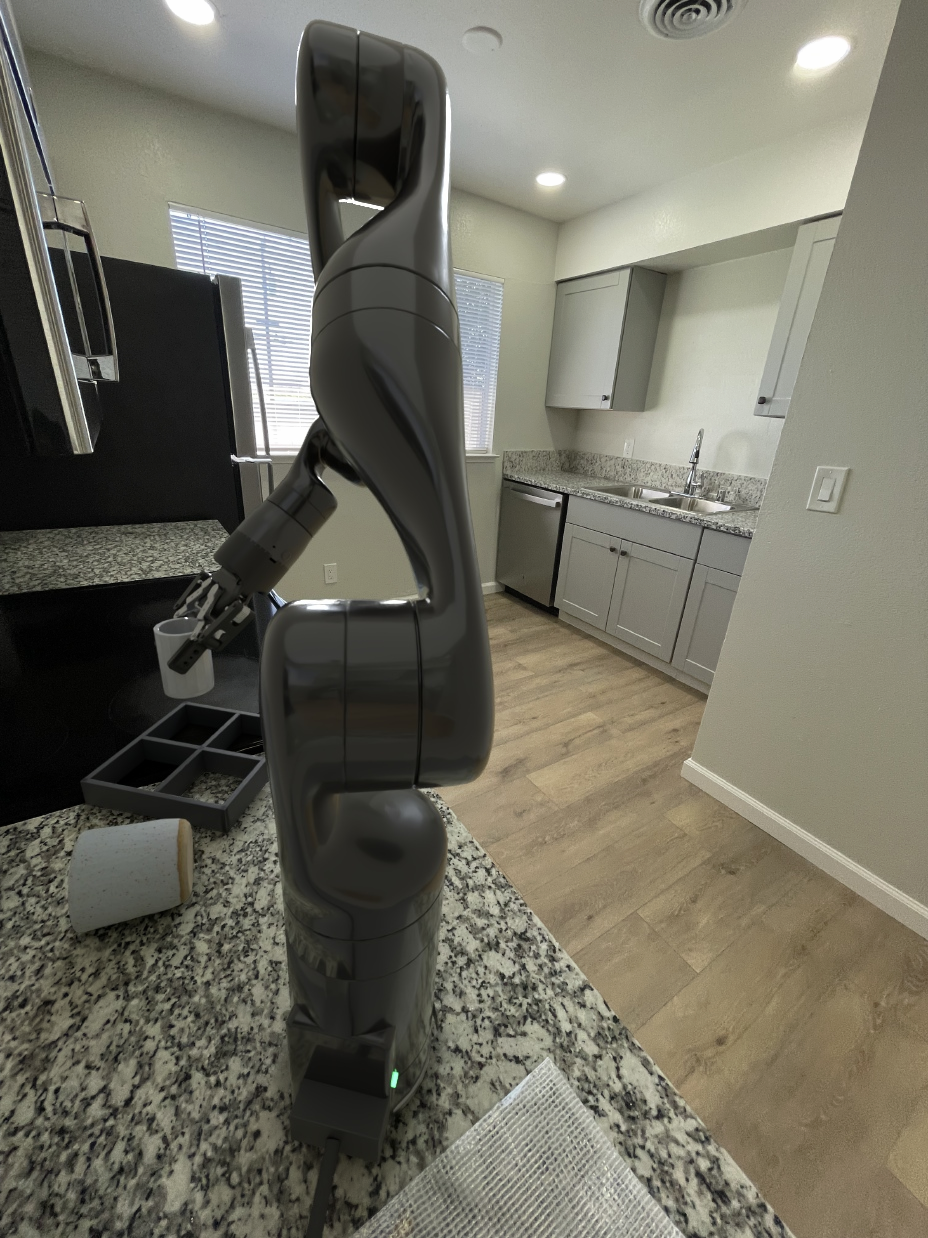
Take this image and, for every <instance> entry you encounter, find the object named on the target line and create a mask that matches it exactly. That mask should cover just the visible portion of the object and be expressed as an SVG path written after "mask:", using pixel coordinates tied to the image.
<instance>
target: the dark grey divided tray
mask: <svg viewBox="0 0 928 1238" xmlns="http://www.w3.org/2000/svg"><path fill="white" fill-rule="evenodd" d="M188 724H190V725H197V726H201V727H208V728H213V729H217V731H215V732H214V734H212V735H211V736H210V737H209V738H208V739H207V740H206V741H205V742H204V743H203V744H201V745H197V744H191V743H186V742H181V741H177V740H176V741H175V740H170V739H171V738H173V737H174V736H175V735H176V734H177V733H179V732H180V731H181V730H182V729H183V728H185V727H186V726H187V725H188ZM242 734H246V735H247V734H248V735H253V736H259V737H262V732H261V724H260V715H259V713H254V712H247V711H242V710H236V709H231V708H224V707H218V706H212V705H208V704H201V703H196V702H190V701H185V700H184V701H183V702H182V703H180V704H179V705H178V706H177V707H175V708H174V709H172V710H171V711H170V712H169V713H167V714H166V715H164V716H163V717H162V718H161V719H159V720H158V721H156V723H154V724H152V726H150V727H149V728H147V729H146V730H145V731H144V732H142V733H141V734H140V735H139V736H138V737H136V738H135V739H134V740H132V741H131V742H130V743H128V744H127V745H125V747H123V748H122V749H120V750H119V751H118V752H116V753H115V754H114V755H113V756H111V757H109V758H108V759H107V760H106V761H105V762H103V763H102V764H101V765H99V766H98V767H96V769H94V770H93V771H92V772H91V773H89V774H88V775H87V776H85V777H83V778H82V779H81V780H80V781H79V783H80V787H81V790H82V794H83V799H84V802H85V804H86V805H90V806H96V807H99V808H106V809H110V810H114V811H120V812H124V813H131V814H134V815H138V816H139V815H140V816H144V817H150V818H154V819H157V820H160V819H185V820H187V821H188V822H189V823H190V825H191V826H192V827H193V826H194V827H199V828H203V829H208V830H212V831H218V832H223V833H228V832H229V831H230V830H231V829H232V828H233V826H234V825H235V824H236V823H237V821H238V820H239V818H240V817H241V816H242V815H243V813H245V811H246V810H247V809H248V807H249V806H250V805H251V803H252V802H253V801H254V800H255V798H256V797H257V795H258V794H259V793H260V792H261V791H262V789H263V788H264V787H265V786H266V784H267V783H269V779H268V773H267V767H266V761H265V755H263V757H262V756H257V755H251V754H246V753H241V752H235V751H230V750H227V749H228V748H229V747H230V746H231V745H232V744H233V743H234V742H235V741H236V740H237V739H238V738H239V737H240V736H241V735H242ZM145 760H146V761H152V762H157V763H162V764H163V763H164V764H168V765H173V766H178V767H177V768H176V769H174V771H172V772H171V773H170V774H169V775H168V776H167V777H166V778H165V779H164V780H163V781H162V782H161V783H159V785H157V786H156V787H155V788H154V789H153V790H148V789H143V788H138V787H133V786H128V785H122V784H117V783H119V782H120V781H121V780H122V779H124V778H125V777H126V776H127V775H129V773H131V772H132V771H133V770H134V769H135V768H136V767H138V766H139V765H141V764H142V763H143V762H144V761H145ZM205 771H206V772H209V773H210V772H211V773H216V774H221V775H226V776H233V777H236V778H243V780H242V781H241V783H240V784H239V785H238V786H237V787H236V788H235V790H233V792H232V793H231V794H230V796H229V797H228V798H227V799H226V800H225V801H224V802H223V804H219V803H214V802H209V801H204V800H198V799H194V798H190V797H185V796H184V797H183V796H181V795H183V794H184V792H186V791H187V790H188V789H189V788H190V786H191V785H193V784H194V783H195V781H197V779H198V778H199V777H200V776H201V775H202V774H203V773H204V772H205Z"/></svg>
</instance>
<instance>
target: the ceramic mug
mask: <svg viewBox="0 0 928 1238" xmlns="http://www.w3.org/2000/svg"><path fill="white" fill-rule="evenodd" d="M193 843H194V842H193V830H192V825H190V823H189V822H188V821H187V820H185V819H155V820H148V821H143V822H137V823H130V824H129V823H128V824H122V825H115V826H114V825H113V826H106V827H100V828H91V829H87V830H83V831H82V832H81V833H80V834H79V836H78V837H77V838H76V842H75V843H74V846H73V849H72V854H71V858H70V860H69V861H70V862H69V867H68V875H67V906H68V908H67V909H68V914H69V919H70V924H71V927H72V928H73V930H74V931H75V932H76V933H78V934H79V933H80V934H82V933H86V932H87V933H88V932H90V931H93V930H96V929H97V930H98V929H100V928H104V927H108V926H111V925H116V924H118V923H123V922H126V921H130V920H132V919H136V918H140V917H144V916H147V915H152V914H157V913H160V912H163V911H167V910H170V909H173V908H175V907H177V906H180V905H181V904H184V903H185V902H186V901H187V900H188V899H189V898H190V897H191V895H192V892H193V886H194V884H193V883H194V844H193Z"/></svg>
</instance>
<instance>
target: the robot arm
mask: <svg viewBox="0 0 928 1238" xmlns="http://www.w3.org/2000/svg"><path fill="white" fill-rule="evenodd" d="M298 45H299V46H298V49H297V50H298V51H297V58H296V68H295V124H296V125H295V127H296V138H297V139H296V140H297V153H298V162H299V171H300V180H301V181H300V182H301V189H302V191H301V192H302V199H303V205H304V206H303V208H304V215H305V216H304V218H305V225H306V232H307V234H306V235H307V240H308V250H309V258H310V264H311V265H310V266H311V272H312V279H313V284H314V285H313V286H314V290H313V294H312V298H311V314H310V331H309V333H310V335H309V353H308V384H309V391H310V392H309V393H310V396H311V399H312V402H313V405H314V408H315V411H316V413H317V415H318V416H317V417H316V418H315V419H314V420H313V422H312V423H311V425H310V427H309V428H308V431H307V433H306V435H305V437H304V440H303V442H302V444H301V447H300V449H299V451H298V453H297V454H296V456H295V459H294V460H293V463H292V464H291V467H290V468H289V470H288V472H287V474H286V475H285V477H284V478H283V479H282V480H281V481H280V482H279V483H278V485H277V486H275V488H274V489H273V490H272V491H271V492H270V494H269V495H268V496H267V497H266V498H265V499H264V500H263V501H262V502H261V503H260V504H259V505H258V506H256V507H255V508H254V509H253V510H252V511H251V512H250V513H249V514H248V515H247V516H246V517H245V518H244V519H243V520H242V522H241V523H240V524H239V525H238V526H237V527H236V528H235V530H233V532H232V533H230V535H229V536H228V537H227V538H226V540H225V541H223V543H222V544H221V545H220V546H219V547H218V548H217V550H216V551H215V552H214V554H213V556H212V558H213V560H214V561H215V562H216V563H217V564H219V566H221V567H220V568H219V569H217V570H216V571H215V572H214V573H212V574H211V573H209V572H207V571H206V570H205V569H202V570H201V571H199V572H198V573H197V575H196V576H195V578H194V579H193V580H192V582H191V583H190V584H189V586H188V587H187V588H186V590H185V591H184V592H183V593H182V594H181V596H180V597H179V598H178V600H177V601H176V602H175V603H174V605H173V607H172V608H173V610H174V611H176V612H175V613H174V615H173V618H172V619H174V618H181V617H194V618H197V620H198V624H197V626H196V627H195V629H194V631H193V632H192V634H191V636H190V639H189V638H188V639H187V640H186V641H185V642H184V643H183V644H182V646H181V647H180V648H179V649H178V650H177V651H176V652H175V654H174V655H173V656H172V657H171V658H170V659H169V661H168V662H167V666H168V667H169V669H171V670H173V671H175V672H177V673H179V674H181V675H183V674H186V673H187V672H188V671H189V670H190V668H191V667H192V666H193V665H194V664H195V663H196V661H197V660H198V659H199V658H200V657H201V656H202V654H203V653H204V652H205V651H206V650H207V649H208V650H211V651H212V650H214V651H215V652H217V653H220V652H221V651H222V650H223V649H224V648H225V647H226V646H227V645H229V643H230V642H231V641H233V640H234V639H235V638H236V636H238V635H239V634H240V633H241V631H243V629H245V628H246V627H247V626H248V625H249V624H250V623H251V622H252V621H253V620H254V619H255V617H256V612H255V611H254V610H252V609H251V608H250V607H248V604H249V602H250V601H251V598H252V597H253V596H254V594H255V593H258V594H259V595H261V596H268V595H269V594H270V593H271V592H272V590H274V588H275V587H276V586H277V585H278V584H279V582H280V581H281V580H282V579H283V577H285V575H286V574H287V573H288V571H289V570H290V569H291V568H292V567H293V566H294V565H295V564H296V562H297V561H298V560H299V559H300V557H302V555H303V554H304V552H305V551H306V549H307V548H308V546H309V544H310V543H311V541H312V540H313V539H314V538H315V537H316V536H317V534H318V533H319V532H320V531H321V529H322V528H323V527H324V526H325V525H326V524H327V523H328V522H329V520H330V519H331V518H332V516H333V515H334V514H335V512H336V511H337V509H338V507H339V506H338V504H339V503H338V499H337V497H336V495H335V493H333V491H332V490H331V488H330V487H328V485H327V484H326V483H325V482H324V481H323V480H322V479H323V475H324V472H325V470H326V469H327V468H329V469H330V470H332V471H333V472H335V473H336V474H337V475H339V476H340V477H342V478H343V479H344V480H345V481H347V482H348V483H350V484H351V485H353V486H355V487H358V488H359V489H360V488H361V489H368V491H369V492H370V493H371V494H372V496H373V497H374V499H375V500H376V502H377V503H378V504H379V507H381V509H382V510H383V512H384V514H385V516H386V517H387V519H388V521H389V523H390V524H391V526H392V528H393V530H394V531H395V533H396V536H397V538H398V540H399V542H400V544H401V546H402V549H403V551H404V554H405V557H406V560H407V562H408V565H409V568H410V571H411V574H412V578H413V583H414V586H415V590H416V593H417V598H418V599H412V600H410V599H403V598H402V599H401V598H397V599H396V598H395V599H394V598H392V599H391V598H385V599H384V598H348V599H347V598H301V599H295V600H294V599H293V600H290V601H287V602H285V603H283V604H282V605H281V606H280V607H278V608H277V610H276V611H275V612H274V614H273V615H272V616H271V618H270V620H269V621H268V623H267V626H266V629H265V631H264V634H263V637H262V641H261V646H260V650H259V657H258V658H259V659H258V666H257V667H258V668H257V691H258V693H257V702H258V714H259V715H260V724H261V732H262V736H261V740H262V741H261V742H262V748H263V754H264V755H263V756H265V761H266V767H267V773H268V779H269V780H268V784H269V789H270V797H271V803H272V811H273V816H274V824H275V825H274V826H275V836H276V845H277V855H278V856H277V857H278V864H279V869H280V885H281V892H282V904H283V918H284V919H283V920H284V936H285V948H286V950H285V951H286V963H287V973H288V974H287V976H288V992H289V1003H290V1004H289V1005H290V1011H289V1013H288V1015H287V1018H286V1022H285V1030H286V1042H287V1054H288V1056H287V1057H288V1067H289V1079H290V1091H291V1104H292V1107H291V1109H290V1111H289V1115H288V1119H289V1127H290V1128H289V1131H290V1139H291V1140H292V1141H296V1142H299V1143H303V1144H306V1145H308V1146H309V1145H310V1146H312V1147H313V1146H314V1147H317V1148H321V1149H323V1153H322V1157H321V1162H320V1168H319V1171H318V1176H317V1181H316V1186H315V1190H314V1193H313V1194H314V1195H313V1199H312V1203H311V1208H310V1212H309V1218H308V1223H307V1228H306V1234H305V1238H323V1236H324V1235H323V1234H324V1230H325V1224H326V1220H327V1213H328V1209H329V1203H330V1198H331V1194H332V1189H333V1183H334V1179H335V1174H336V1169H337V1164H338V1159H339V1154H342V1155H346V1156H349V1157H354V1158H356V1159H361V1160H364V1161H368V1162H371V1163H375V1164H379V1161H380V1159H381V1154H382V1149H383V1145H384V1141H385V1139H386V1138H387V1137H388V1135H389V1133H390V1128H391V1124H392V1121H393V1118H394V1117H395V1116H396V1115H398V1114H399V1113H400V1112H401V1111H402V1110H403V1109H404V1108H405V1107H406V1106H407V1105H408V1104H409V1103H410V1101H412V1099H413V1097H414V1096H415V1094H416V1093H417V1092H418V1090H419V1088H420V1086H421V1084H422V1082H423V1079H424V1077H425V1075H426V1072H427V1069H428V1066H429V1062H430V1056H431V1049H432V1048H431V1047H432V1023H433V1022H434V1026H435V1029H436V1031H438V1023H439V1017H438V1015H437V1009H436V1005H435V1001H434V1000H435V987H436V978H437V977H436V976H437V968H438V967H437V966H438V955H439V944H440V933H441V925H442V924H441V923H442V913H443V903H444V894H445V893H444V892H445V882H446V874H447V866H448V865H447V863H448V855H449V854H448V853H449V838H448V831H447V827H446V824H445V823H446V822H445V820H444V818H443V814H442V813H441V812H440V810H439V809H438V807H437V806H436V804H435V802H434V801H433V800H432V799H431V798H430V797H429V796H428V795H426V793H424V792H423V791H422V790H425V789H438V788H450V787H459V786H463V785H468V784H470V783H473V782H475V781H476V780H478V778H480V777H481V776H482V775H483V773H484V771H485V770H486V768H487V766H488V765H489V760H490V757H491V754H492V749H493V746H494V737H495V729H496V728H495V727H496V690H495V677H494V676H495V675H494V667H493V657H492V649H491V641H490V635H489V627H488V625H489V624H488V617H487V613H486V606H485V605H486V604H485V599H484V593H483V585H482V579H481V573H480V565H479V558H478V553H477V552H478V551H477V544H476V538H475V531H474V524H473V517H472V516H473V515H472V508H471V500H470V491H469V481H468V480H469V479H468V468H467V466H468V465H467V449H466V425H465V423H466V422H465V420H466V419H465V391H464V390H465V389H464V386H465V385H464V365H463V364H464V363H463V362H464V361H463V350H462V336H461V325H460V315H459V308H458V299H457V291H456V279H455V269H454V258H453V247H452V245H453V244H452V233H451V231H452V230H451V229H452V228H451V193H452V192H451V191H452V189H451V188H452V187H451V185H452V183H451V182H452V140H453V139H452V108H451V107H452V105H451V96H450V89H449V86H448V82H447V78H446V75H445V72H444V70H443V68H442V66H441V64H440V63H439V62H438V61H437V60H436V59H435V58H434V57H433V56H431V55H430V53H427V52H426V51H424V50H422V49H421V48H418V47H416V46H414V45H412V44H408V43H403V42H401V41H397V40H394V39H391V38H388V37H385V36H382V35H378V34H375V33H371V32H369V31H365V30H361V29H359V30H358V29H357V28H354V27H351V26H348V25H344V24H341V23H336V22H334V21H329V20H324V19H313V20H310V21H308V23H307V24H306V25H305V27H304V29H303V31H302V34H301V37H300V40H299V44H298ZM343 202H345V203H346V202H347V203H353V204H355V205H360V206H364V207H369V208H372V209H378V210H379V211H378V212H376V213H375V214H374V215H373V216H372V217H371V218H369V219H368V220H367V221H365V222H364V223H363V224H362V225H361V226H359V227H358V228H357V229H355V231H354V232H353V233H352V234H350V235H349V236H347V233H346V227H345V221H344V214H343ZM207 626H208V628H207V629H206V630H205V628H206V627H207ZM204 630H205V631H204ZM154 646H155V647H156V643H155V641H154ZM433 1020H434V1021H433Z"/></svg>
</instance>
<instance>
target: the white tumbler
mask: <svg viewBox="0 0 928 1238" xmlns="http://www.w3.org/2000/svg"><path fill="white" fill-rule="evenodd" d="M197 624H198V620H197V618H194V617H181V618H170V619H167V620H163V621H161V622H159V623H156V624H155V626H154V627H153V628H152V629H153V636H154V642H155V643H156V646H155V648H156V654H157V661H158V665H159V666H158V667H159V672H160V677H161V683H162V688H163V693H164V694H165V696H166V697H169V698H173V699H183V700H184V699H191V698H196V697H199V696H203V695H205V694H207V693H208V692H210V691H211V690H212V689H214V686H215V673H214V665H213V657H212V649H211V650H208V649H207V650H206V651H205V652H204V653H203V654H202V656H201V657H200V658H199V659H198V660H197V661H196V663H195V664H194V665H193V666H192V667H191V668H190V670H189V671H188V672H187V673H186V674H183V675H181V674H179V673H177V672H175V671H173V670H171V669H169V667H168V666H167V662H168V661H169V659H170V658H171V657H172V656H173V655H174V654H175V652H176V651H177V650H178V649H179V648H180V647H181V646H182V644H183V643H184V642H185V641H186V640H187V639H188V638H189V639H190V636H191V634H192V632H193V631H194V629H195V627H196V626H197ZM207 628H208V626H207V627H206V628H205V630H206V629H207ZM205 630H204V631H205Z"/></svg>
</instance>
